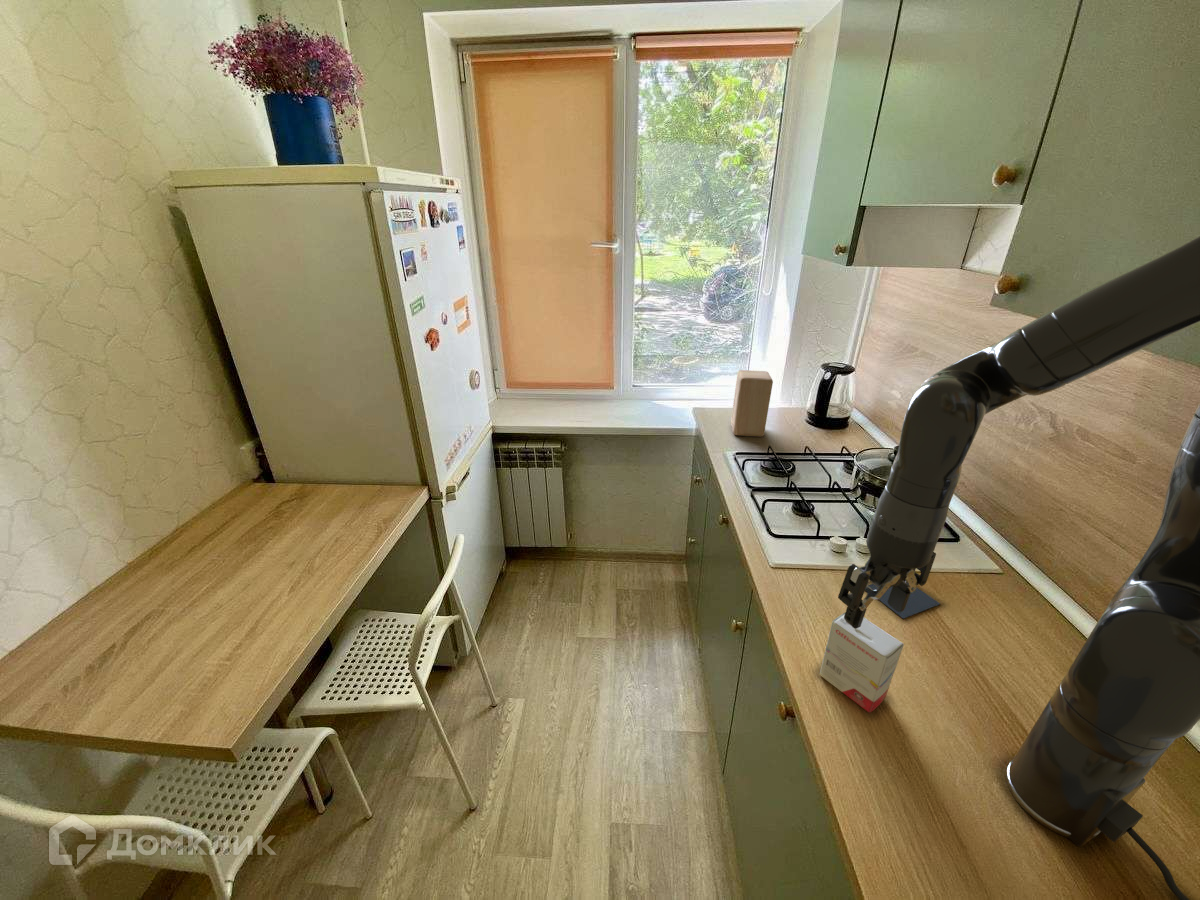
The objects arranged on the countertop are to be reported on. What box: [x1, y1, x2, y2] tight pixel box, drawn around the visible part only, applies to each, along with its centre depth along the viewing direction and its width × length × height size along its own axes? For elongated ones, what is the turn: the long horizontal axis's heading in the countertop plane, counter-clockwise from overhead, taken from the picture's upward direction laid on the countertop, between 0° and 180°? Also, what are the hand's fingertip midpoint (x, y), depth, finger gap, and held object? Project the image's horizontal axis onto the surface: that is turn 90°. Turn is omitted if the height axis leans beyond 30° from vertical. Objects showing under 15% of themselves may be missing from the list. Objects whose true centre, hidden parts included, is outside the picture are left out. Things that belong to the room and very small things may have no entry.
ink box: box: [819, 612, 905, 714], centre depth 75 cm, size 9×5×12 cm, turn 33°
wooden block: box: [730, 369, 774, 438], centre depth 162 cm, size 10×10×20 cm
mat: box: [867, 583, 941, 620], centre depth 95 cm, size 9×10×1 cm
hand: (873, 615), depth 71 cm, fingers open, 8 cm apart
